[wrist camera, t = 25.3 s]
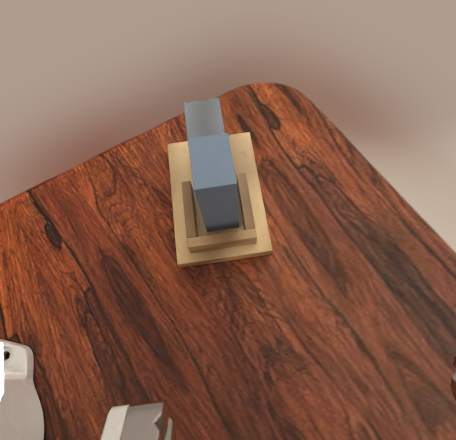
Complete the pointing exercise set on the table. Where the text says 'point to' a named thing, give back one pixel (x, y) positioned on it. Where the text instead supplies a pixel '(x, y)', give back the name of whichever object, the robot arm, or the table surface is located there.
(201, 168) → the loose pad
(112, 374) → the table surface
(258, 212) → the pad board
